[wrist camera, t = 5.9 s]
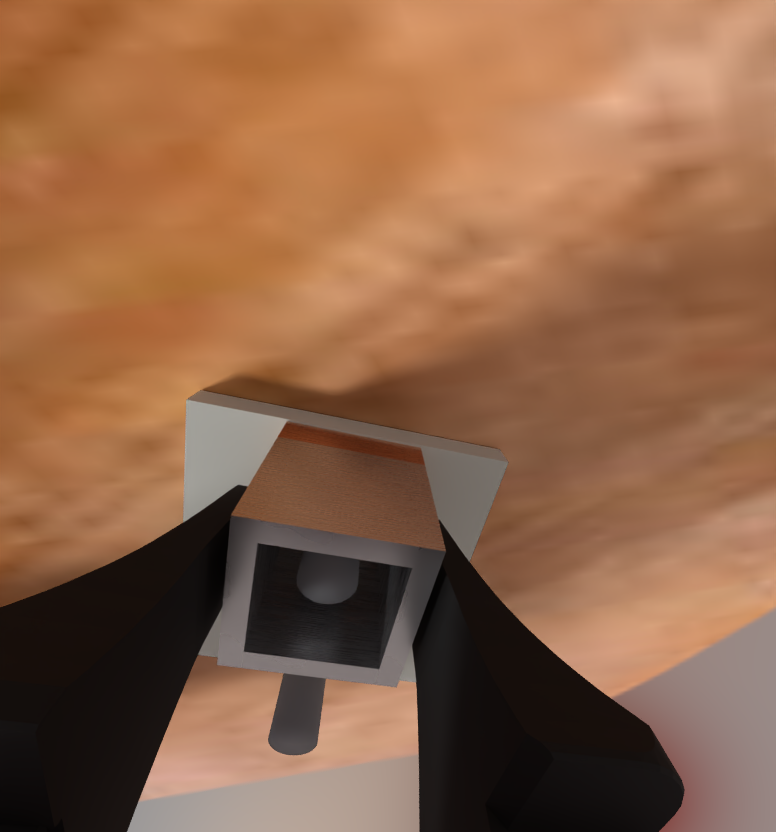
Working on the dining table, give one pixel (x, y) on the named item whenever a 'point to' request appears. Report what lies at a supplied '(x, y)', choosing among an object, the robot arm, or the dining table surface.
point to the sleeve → (335, 535)
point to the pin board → (259, 426)
